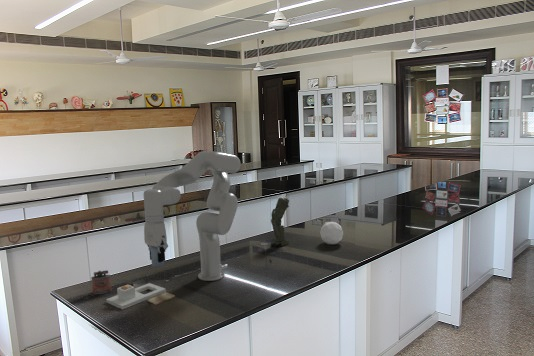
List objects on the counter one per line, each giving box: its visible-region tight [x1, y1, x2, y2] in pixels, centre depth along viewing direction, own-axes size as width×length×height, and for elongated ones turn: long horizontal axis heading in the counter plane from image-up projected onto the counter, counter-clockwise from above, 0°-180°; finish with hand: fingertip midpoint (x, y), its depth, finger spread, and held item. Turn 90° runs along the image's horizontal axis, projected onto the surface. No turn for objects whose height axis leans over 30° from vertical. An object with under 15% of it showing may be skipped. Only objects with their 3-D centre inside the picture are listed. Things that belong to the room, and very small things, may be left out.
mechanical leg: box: [270, 197, 290, 248], centre depth 264 cm, size 13×7×29 cm, turn 130°
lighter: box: [90, 269, 113, 295], centre depth 202 cm, size 8×3×10 cm, turn 106°
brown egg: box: [121, 284, 129, 290], centre depth 192 cm, size 3×3×4 cm
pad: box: [146, 291, 176, 306], centre depth 193 cm, size 10×6×1 cm, turn 140°
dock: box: [106, 282, 167, 310], centre depth 196 cm, size 22×12×6 cm, turn 140°
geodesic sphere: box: [319, 220, 344, 245], centre depth 264 cm, size 14×14×14 cm
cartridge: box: [150, 244, 165, 267], centre depth 191 cm, size 5×5×9 cm
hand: (157, 259), depth 191 cm, fingers closed on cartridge, 4 cm apart
